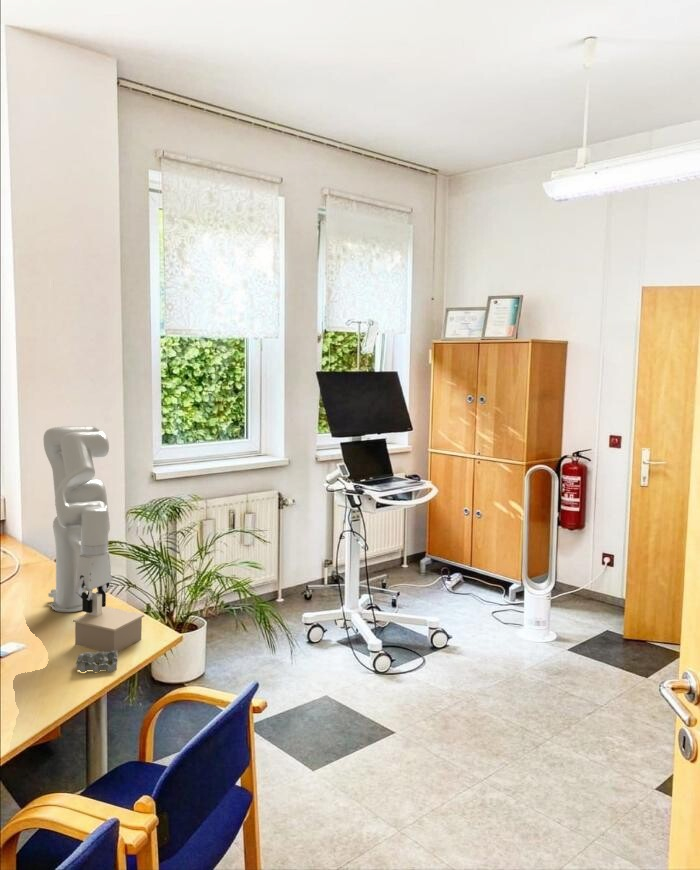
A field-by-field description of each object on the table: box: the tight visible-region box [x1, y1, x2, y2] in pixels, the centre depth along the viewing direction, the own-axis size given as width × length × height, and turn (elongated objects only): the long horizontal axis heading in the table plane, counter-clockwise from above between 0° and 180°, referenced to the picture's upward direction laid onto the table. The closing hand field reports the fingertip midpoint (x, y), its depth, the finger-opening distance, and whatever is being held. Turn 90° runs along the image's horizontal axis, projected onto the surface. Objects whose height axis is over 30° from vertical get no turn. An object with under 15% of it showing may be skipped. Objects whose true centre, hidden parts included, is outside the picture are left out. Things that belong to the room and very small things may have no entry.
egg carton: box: [75, 650, 119, 673], centre depth 192 cm, size 11×8×4 cm
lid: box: [72, 591, 145, 632], centre depth 207 cm, size 15×13×7 cm
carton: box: [74, 617, 143, 652], centre depth 208 cm, size 14×12×7 cm
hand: (94, 608), depth 210 cm, fingers open, 4 cm apart
